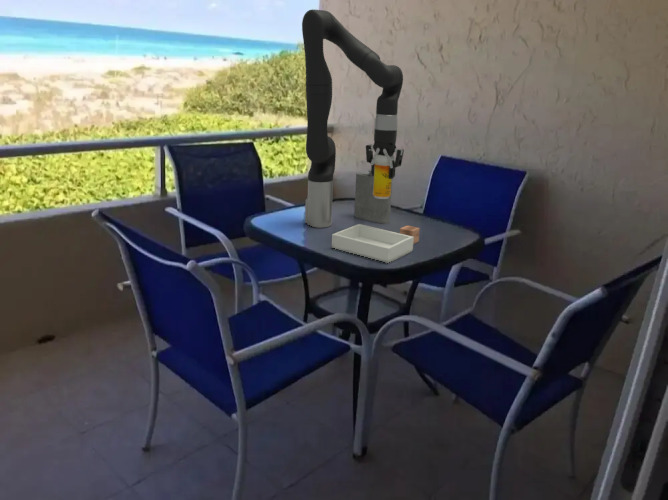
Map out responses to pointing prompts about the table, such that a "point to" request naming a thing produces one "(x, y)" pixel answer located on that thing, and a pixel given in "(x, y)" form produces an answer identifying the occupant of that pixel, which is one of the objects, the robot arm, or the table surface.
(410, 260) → the table surface
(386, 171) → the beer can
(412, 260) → the table surface
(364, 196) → the hip flask
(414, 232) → the wooden cube
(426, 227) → the table surface
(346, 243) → the tray
